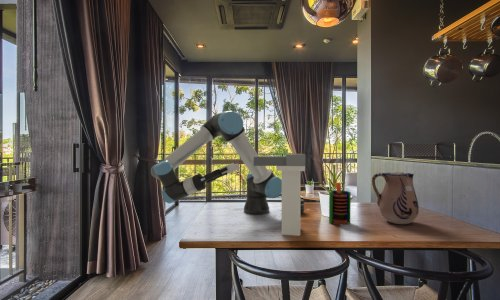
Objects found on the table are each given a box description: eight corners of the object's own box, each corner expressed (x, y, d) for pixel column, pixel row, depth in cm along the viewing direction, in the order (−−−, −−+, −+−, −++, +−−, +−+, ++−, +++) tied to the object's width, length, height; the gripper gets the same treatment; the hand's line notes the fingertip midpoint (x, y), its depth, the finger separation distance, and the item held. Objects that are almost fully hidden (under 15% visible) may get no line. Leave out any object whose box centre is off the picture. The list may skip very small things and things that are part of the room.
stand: (279, 225, 139) (279, 163, 139) (304, 226, 137) (304, 163, 137) (276, 236, 122) (276, 165, 122) (305, 237, 120) (305, 165, 120)
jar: (286, 210, 172) (286, 198, 172) (303, 211, 172) (303, 198, 172) (287, 214, 162) (287, 201, 162) (305, 214, 162) (305, 201, 162)
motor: (334, 225, 139) (334, 184, 139) (325, 221, 148) (325, 182, 147) (353, 224, 142) (353, 183, 142) (342, 219, 150) (342, 181, 150)
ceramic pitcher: (424, 228, 135) (424, 174, 135) (376, 225, 139) (376, 174, 139) (411, 219, 152) (411, 171, 152) (369, 217, 156) (369, 171, 156)
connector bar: (254, 165, 129) (254, 154, 129) (303, 165, 127) (303, 154, 127) (253, 165, 123) (253, 154, 123) (305, 166, 121) (305, 154, 121)
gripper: (205, 189, 145) (243, 173, 143) (190, 193, 120) (236, 173, 119) (199, 176, 146) (237, 159, 144) (183, 177, 121) (229, 156, 119)
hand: (236, 165), depth 131 cm, fingers open, 13 cm apart
